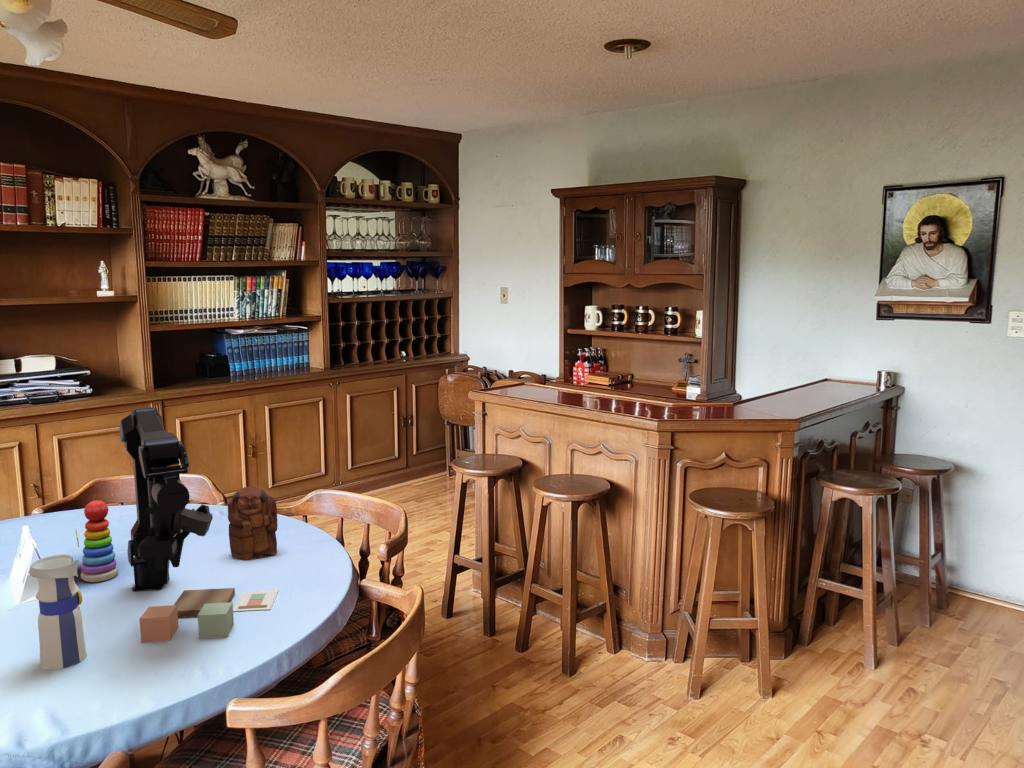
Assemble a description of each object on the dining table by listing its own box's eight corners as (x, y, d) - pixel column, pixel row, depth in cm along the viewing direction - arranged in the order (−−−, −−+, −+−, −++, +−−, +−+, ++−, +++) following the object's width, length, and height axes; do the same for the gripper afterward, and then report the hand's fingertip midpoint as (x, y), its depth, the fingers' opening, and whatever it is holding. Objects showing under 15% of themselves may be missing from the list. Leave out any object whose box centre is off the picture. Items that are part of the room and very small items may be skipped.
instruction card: (232, 611, 169) (232, 610, 169) (242, 592, 179) (242, 591, 179) (270, 609, 170) (270, 608, 170) (278, 591, 180) (278, 589, 180)
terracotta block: (141, 642, 156) (139, 618, 155) (150, 629, 161) (148, 606, 161) (170, 640, 157) (168, 617, 156) (178, 628, 162) (176, 605, 161)
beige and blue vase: (77, 643, 155) (66, 521, 151) (96, 657, 150) (85, 530, 146) (31, 659, 149) (18, 532, 145) (49, 674, 143) (36, 543, 140)
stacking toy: (103, 584, 184) (96, 507, 181) (73, 582, 186) (66, 505, 183) (125, 571, 192) (119, 497, 189) (97, 569, 193) (90, 495, 190)
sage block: (199, 639, 157) (197, 615, 156) (206, 626, 163) (204, 603, 162) (227, 637, 158) (226, 613, 157) (233, 625, 163) (232, 602, 162)
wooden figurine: (231, 562, 197) (226, 493, 194) (229, 554, 203) (225, 486, 200) (280, 556, 202) (276, 488, 199) (277, 548, 207) (274, 481, 205)
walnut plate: (169, 618, 166) (168, 611, 166) (184, 596, 177) (184, 590, 177) (223, 615, 167) (222, 608, 167) (235, 594, 178) (234, 587, 178)
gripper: (196, 511, 148) (202, 590, 150) (216, 485, 166) (221, 556, 169) (133, 515, 146) (140, 595, 149) (161, 488, 165) (166, 559, 167)
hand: (170, 575), depth 158 cm, fingers open, 9 cm apart
